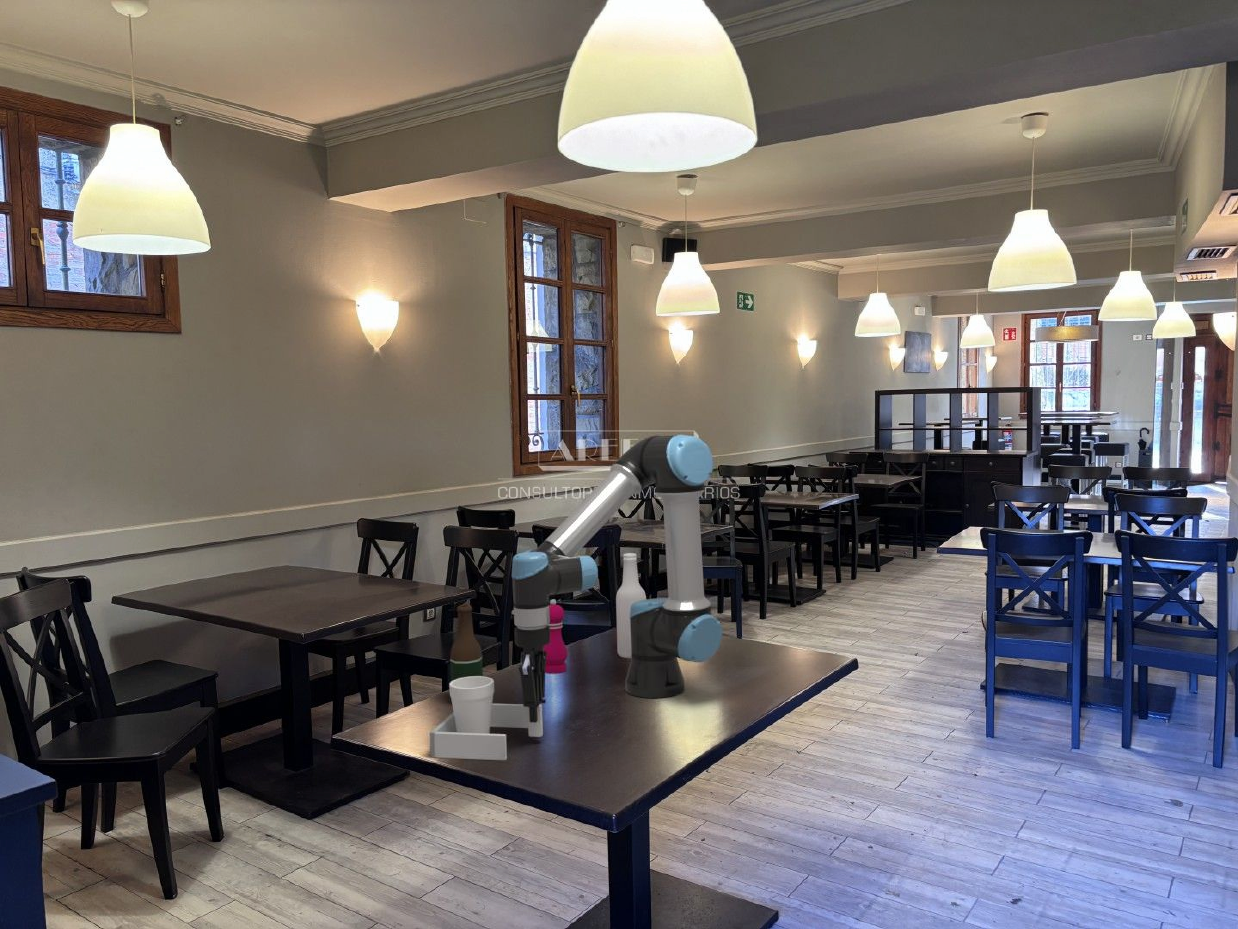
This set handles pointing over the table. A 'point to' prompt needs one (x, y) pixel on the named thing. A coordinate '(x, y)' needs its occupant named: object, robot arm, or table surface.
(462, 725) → the foam cup
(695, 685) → the table surface
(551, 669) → the pepper mill
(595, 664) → the table surface
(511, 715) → the box
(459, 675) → the beer bottle
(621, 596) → the alcohol
